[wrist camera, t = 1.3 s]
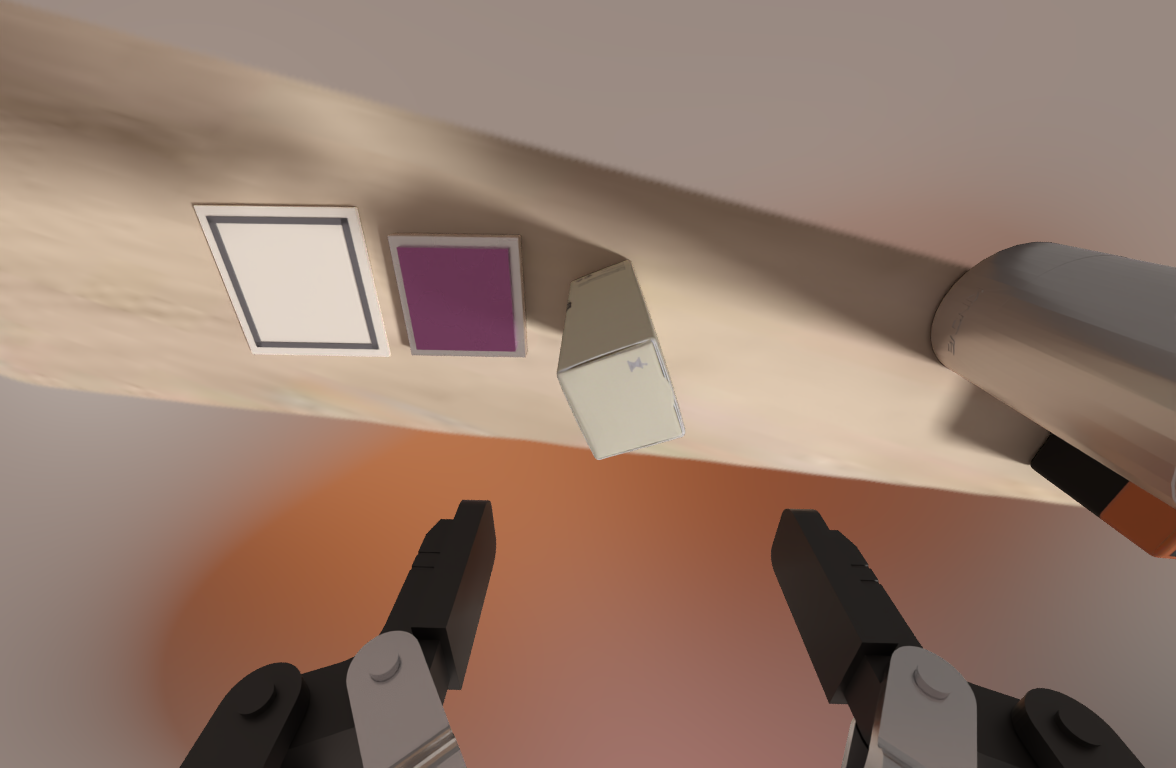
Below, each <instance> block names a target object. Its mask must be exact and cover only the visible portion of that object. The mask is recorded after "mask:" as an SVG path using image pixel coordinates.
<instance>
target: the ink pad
mask: <svg viewBox="0 0 1176 768" xmlns="http://www.w3.org/2000/svg"><path fill="white" fill-rule="evenodd" d="M388 241H389V246H390V251H391V256H392V261H393V266H394V270H395V275H396V280H397V285H398V290H399V295H400V300H401V305H402V309H403V314H404V319H405V324H406V329H407V334H408V339H409V344H410V348H411V353H412V355H431V356H482V357H526V355H527V352H528V346H527V330H526V314H525V298H524V282H523V266H522V250H521V235H485V234H418V233H393V234H391V235H388Z"/></svg>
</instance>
